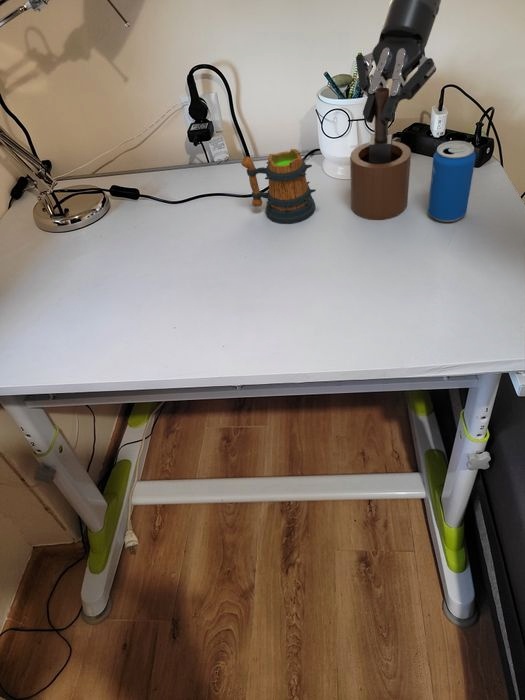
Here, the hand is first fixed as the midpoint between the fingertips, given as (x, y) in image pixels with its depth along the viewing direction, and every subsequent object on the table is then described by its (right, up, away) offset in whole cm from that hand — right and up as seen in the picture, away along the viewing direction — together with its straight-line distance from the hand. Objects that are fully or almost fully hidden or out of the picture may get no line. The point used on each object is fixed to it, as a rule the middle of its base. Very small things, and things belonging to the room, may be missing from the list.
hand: (376, 121), depth 82 cm
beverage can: (+14, -13, +8) cm, 21 cm away
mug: (-14, -10, +16) cm, 24 cm away
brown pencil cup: (+3, -10, +13) cm, 17 cm away
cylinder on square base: (+2, -4, +7) cm, 8 cm away
